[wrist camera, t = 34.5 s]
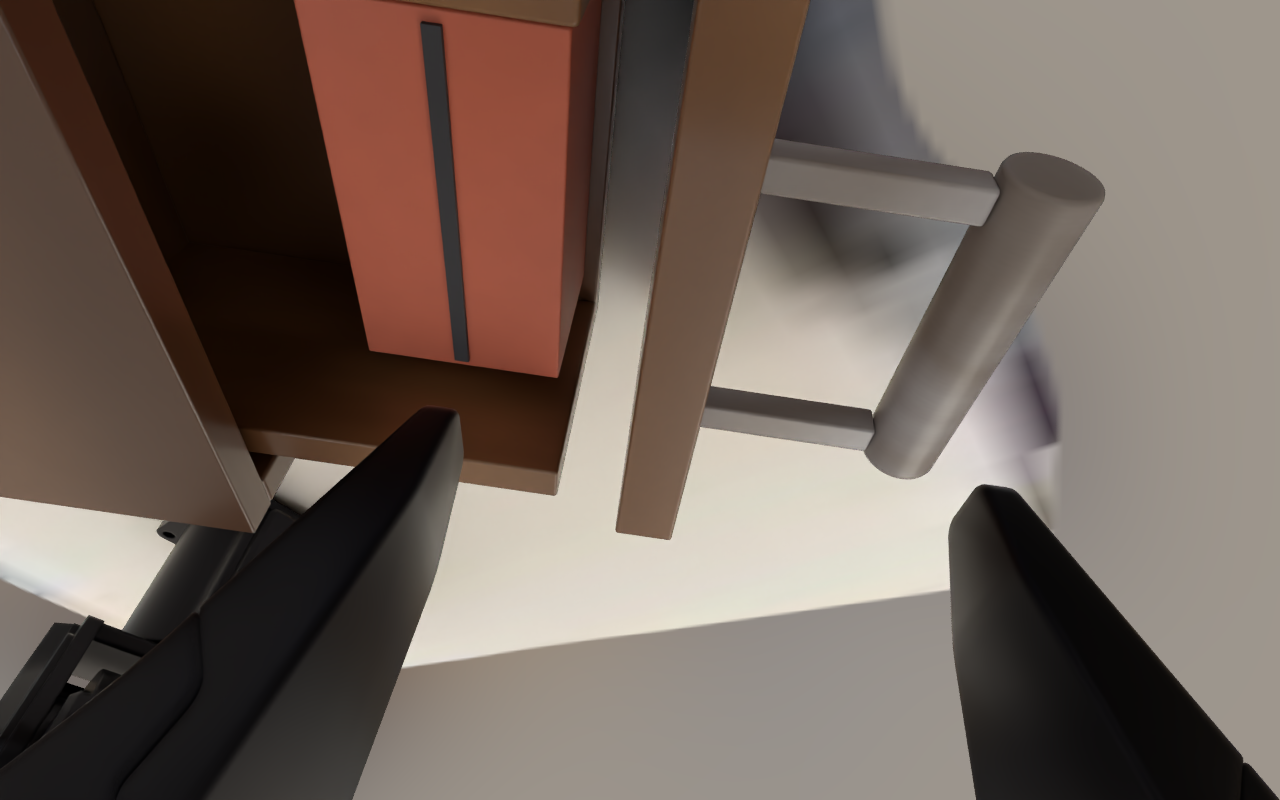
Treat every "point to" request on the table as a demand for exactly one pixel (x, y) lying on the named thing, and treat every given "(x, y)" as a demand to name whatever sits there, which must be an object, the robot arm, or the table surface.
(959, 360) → the drawer
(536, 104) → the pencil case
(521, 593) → the table surface
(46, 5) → the cabinet
